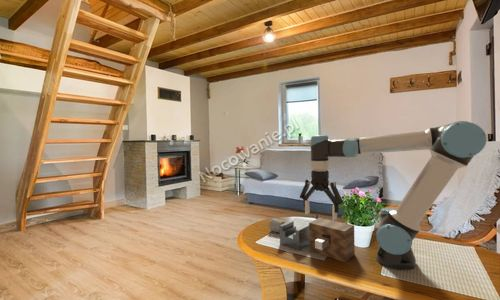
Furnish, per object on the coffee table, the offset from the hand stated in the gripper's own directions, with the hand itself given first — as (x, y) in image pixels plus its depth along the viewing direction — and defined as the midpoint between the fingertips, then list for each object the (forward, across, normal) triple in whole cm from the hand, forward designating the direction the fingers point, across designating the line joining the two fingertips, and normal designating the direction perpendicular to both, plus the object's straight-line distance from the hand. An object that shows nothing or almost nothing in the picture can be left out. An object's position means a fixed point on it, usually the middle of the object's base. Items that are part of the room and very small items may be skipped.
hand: (320, 216), depth 116 cm
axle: (+14, 0, -6) cm, 15 cm away
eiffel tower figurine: (+21, +18, -30) cm, 40 cm away
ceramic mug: (+20, +37, -16) cm, 45 cm away
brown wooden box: (+20, 0, -10) cm, 22 cm away
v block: (+20, +19, -6) cm, 28 cm away
